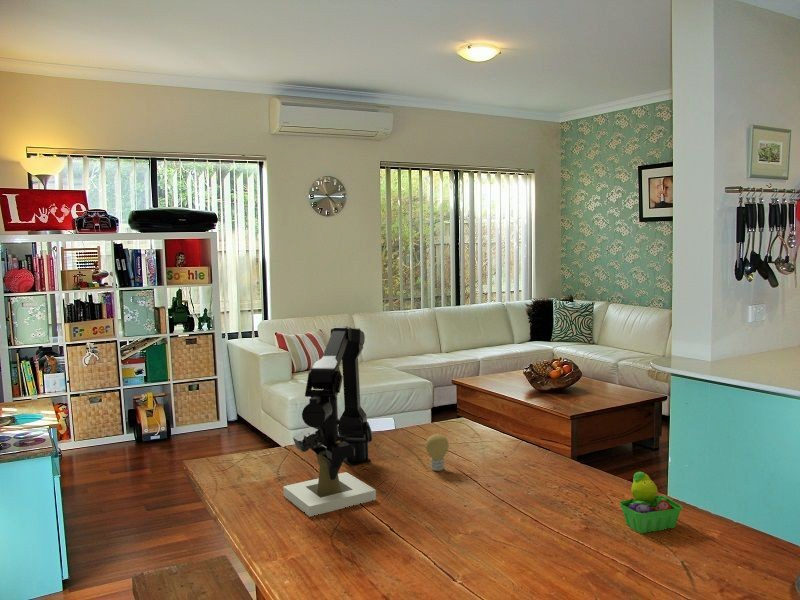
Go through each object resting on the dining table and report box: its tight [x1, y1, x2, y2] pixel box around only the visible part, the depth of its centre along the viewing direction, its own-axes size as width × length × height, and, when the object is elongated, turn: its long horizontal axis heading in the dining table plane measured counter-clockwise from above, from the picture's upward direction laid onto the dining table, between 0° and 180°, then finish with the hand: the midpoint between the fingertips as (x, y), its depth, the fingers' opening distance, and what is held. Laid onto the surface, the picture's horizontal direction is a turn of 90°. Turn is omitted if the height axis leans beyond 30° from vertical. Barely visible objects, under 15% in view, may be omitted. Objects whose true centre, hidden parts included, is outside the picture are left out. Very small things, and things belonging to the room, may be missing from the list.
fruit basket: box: [619, 471, 683, 534], centre depth 149 cm, size 11×9×11 cm
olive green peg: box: [316, 451, 342, 498], centre depth 170 cm, size 6×6×11 cm
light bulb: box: [425, 433, 450, 472], centre depth 188 cm, size 6×6×10 cm
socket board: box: [282, 471, 377, 518], centre depth 170 cm, size 18×16×2 cm
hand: (328, 476), depth 170 cm, fingers closed on olive green peg, 4 cm apart
